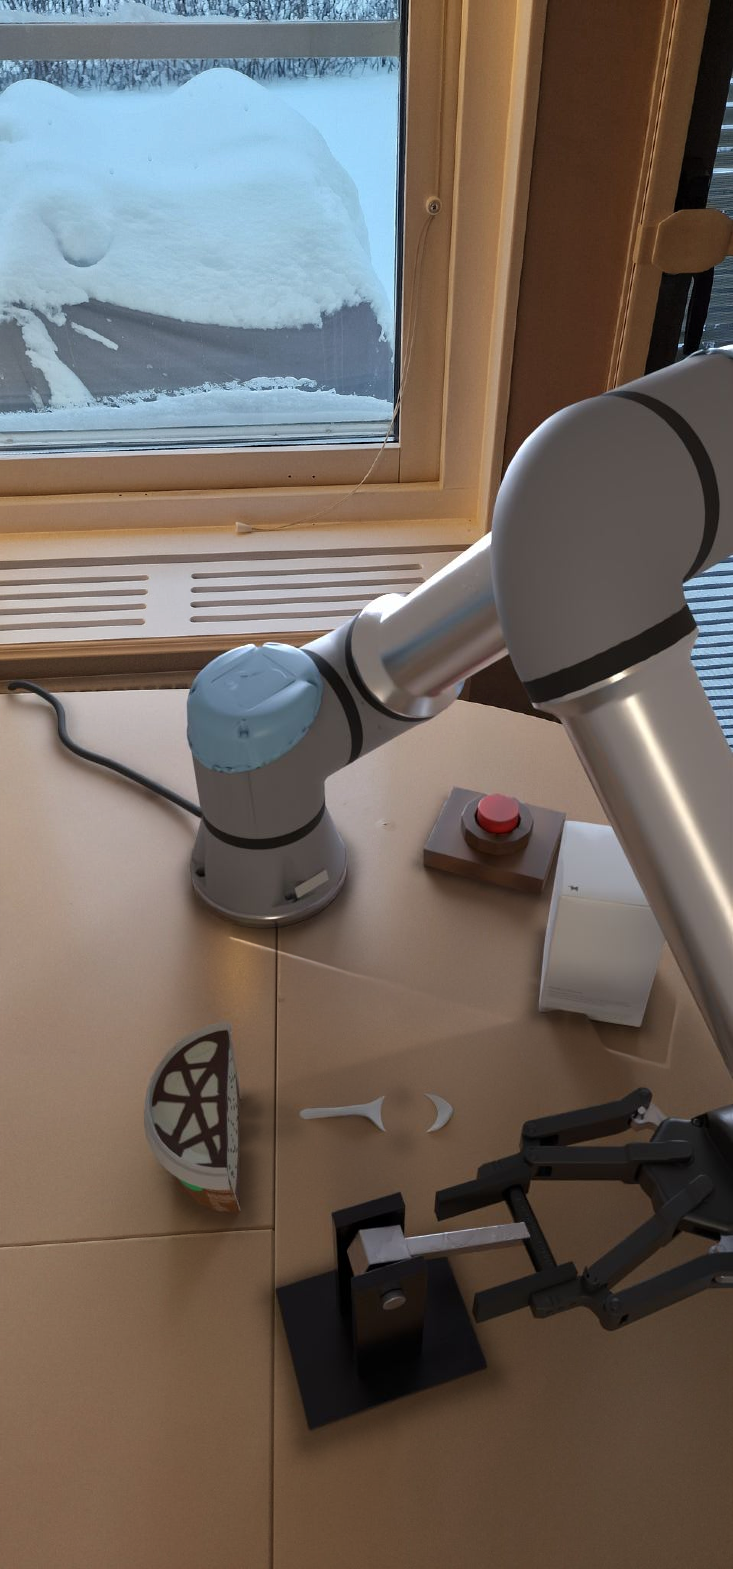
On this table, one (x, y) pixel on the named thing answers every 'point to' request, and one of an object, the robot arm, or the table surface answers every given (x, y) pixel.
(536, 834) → the button block
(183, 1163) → the food container
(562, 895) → the rectangular carton
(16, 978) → the table surface
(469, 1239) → the lever
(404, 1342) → the bracket
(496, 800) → the button
